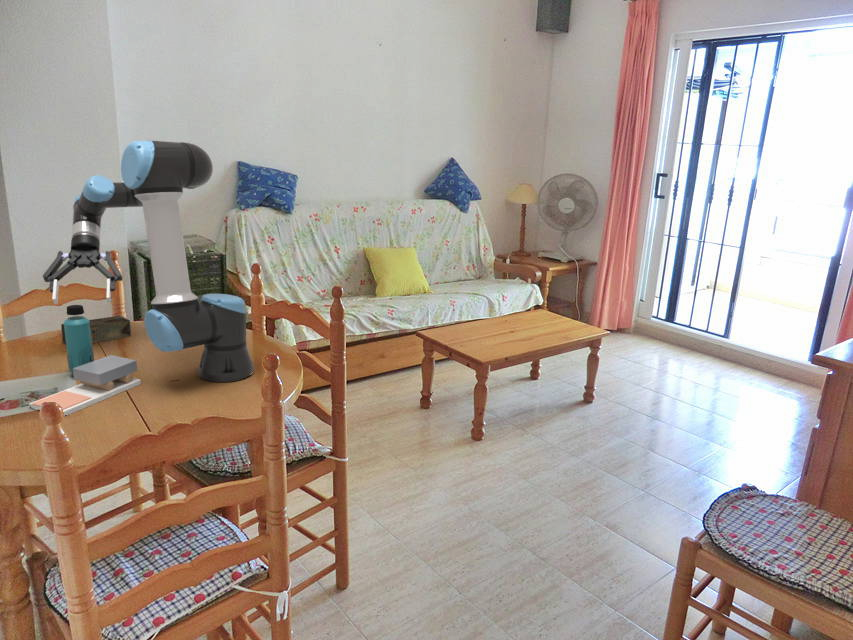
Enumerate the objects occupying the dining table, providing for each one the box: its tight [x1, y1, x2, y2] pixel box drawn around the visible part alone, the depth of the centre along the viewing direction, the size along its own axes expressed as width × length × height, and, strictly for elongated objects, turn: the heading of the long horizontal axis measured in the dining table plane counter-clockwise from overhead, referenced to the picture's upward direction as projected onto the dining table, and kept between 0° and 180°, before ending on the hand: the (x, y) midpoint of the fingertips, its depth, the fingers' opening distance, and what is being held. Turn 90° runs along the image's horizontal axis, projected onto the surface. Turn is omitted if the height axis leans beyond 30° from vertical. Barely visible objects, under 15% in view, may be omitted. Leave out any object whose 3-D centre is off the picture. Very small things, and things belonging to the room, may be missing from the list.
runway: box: [28, 373, 142, 417], centre depth 158 cm, size 11×24×4 cm, turn 159°
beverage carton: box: [60, 314, 132, 344], centre depth 200 cm, size 8×19×7 cm, turn 139°
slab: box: [72, 354, 138, 385], centre depth 162 cm, size 9×12×3 cm
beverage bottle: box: [63, 304, 95, 374], centre depth 168 cm, size 6×7×20 cm
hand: (82, 300), depth 175 cm, fingers open, 13 cm apart
